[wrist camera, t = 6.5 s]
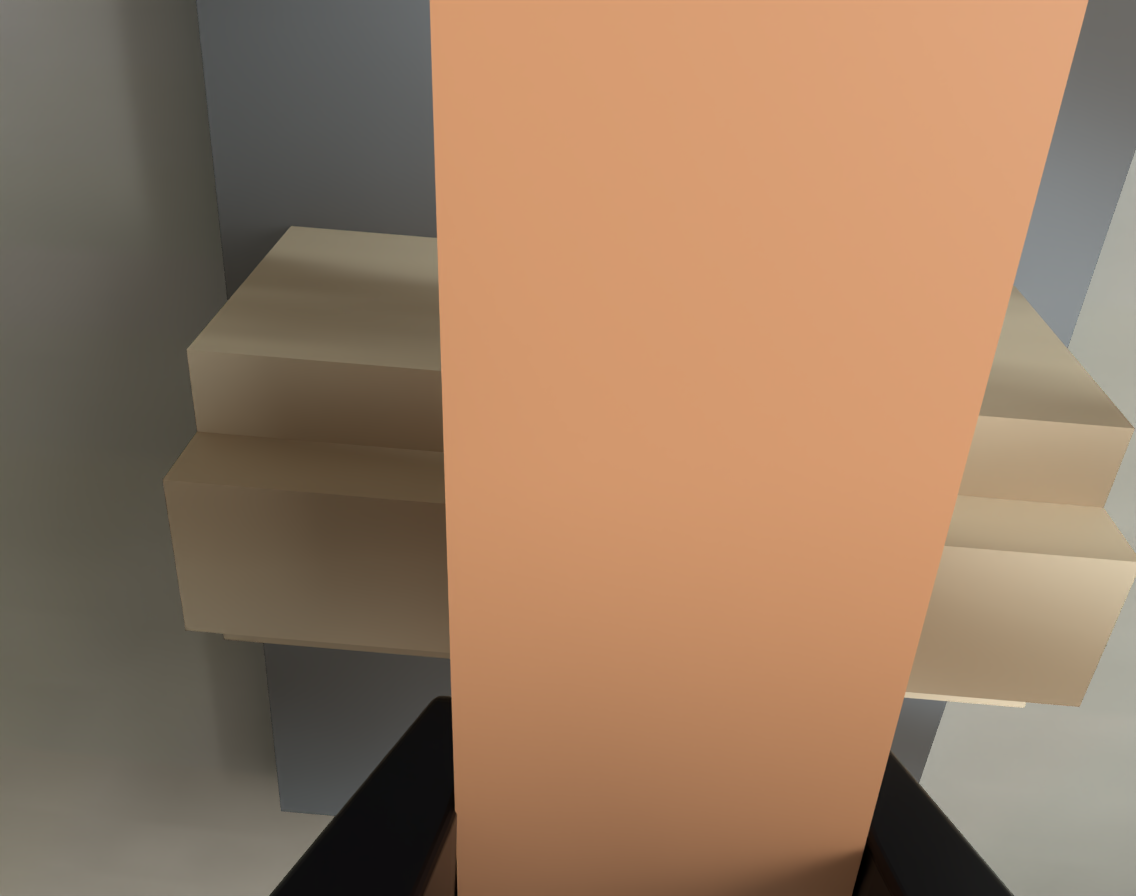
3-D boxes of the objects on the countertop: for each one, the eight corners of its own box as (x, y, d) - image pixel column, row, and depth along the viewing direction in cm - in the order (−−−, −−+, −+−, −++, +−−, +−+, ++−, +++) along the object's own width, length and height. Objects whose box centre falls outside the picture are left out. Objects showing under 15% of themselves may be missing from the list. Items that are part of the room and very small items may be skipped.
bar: (707, 1120, 15) (722, 1385, 13) (499, 1105, 15) (472, 1364, 13) (1023, -566, 6) (1316, -862, 3) (500, -579, 6) (403, -879, 4)
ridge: (880, 822, 21) (960, 1138, 16) (294, 771, 22) (189, 1069, 16) (1291, -444, 11) (1851, -672, 6) (175, -530, 11) (-205, -826, 6)
